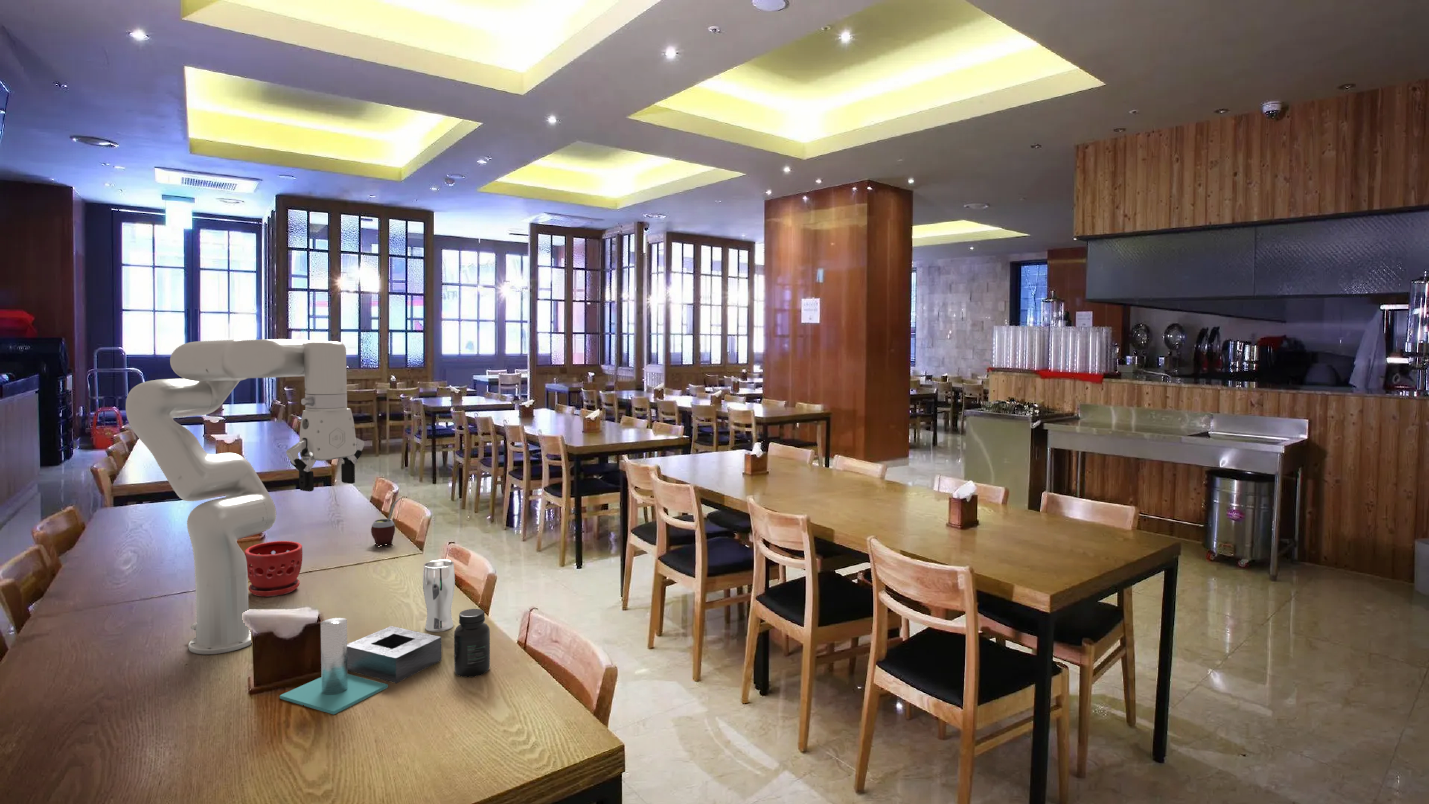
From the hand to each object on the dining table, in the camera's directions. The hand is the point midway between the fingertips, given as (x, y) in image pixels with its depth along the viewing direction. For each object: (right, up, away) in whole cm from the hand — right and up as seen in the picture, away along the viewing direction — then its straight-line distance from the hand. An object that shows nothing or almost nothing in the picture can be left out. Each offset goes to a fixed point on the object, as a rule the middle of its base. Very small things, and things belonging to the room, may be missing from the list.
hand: (328, 486), depth 156 cm
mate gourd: (-28, -29, +93) cm, 101 cm away
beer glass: (+15, -35, +22) cm, 44 cm away
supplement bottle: (+30, -37, -1) cm, 47 cm away
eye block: (+13, -37, +1) cm, 39 cm away
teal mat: (+7, -37, -12) cm, 40 cm away
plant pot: (-36, -33, +45) cm, 66 cm away
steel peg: (+7, -37, -12) cm, 39 cm away
